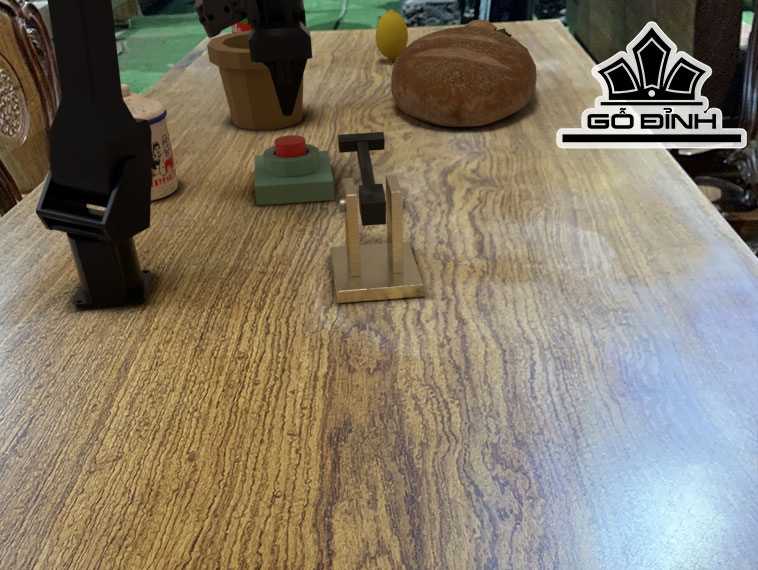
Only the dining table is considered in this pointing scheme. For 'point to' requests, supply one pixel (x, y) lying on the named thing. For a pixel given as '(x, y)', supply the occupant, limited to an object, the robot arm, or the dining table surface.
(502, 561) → the dining table surface
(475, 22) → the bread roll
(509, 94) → the bread
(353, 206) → the lever base
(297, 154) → the button
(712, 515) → the dining table surface
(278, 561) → the dining table surface
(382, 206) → the press lever
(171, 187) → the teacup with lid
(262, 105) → the flowerpot
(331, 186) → the control block
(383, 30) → the lemon
